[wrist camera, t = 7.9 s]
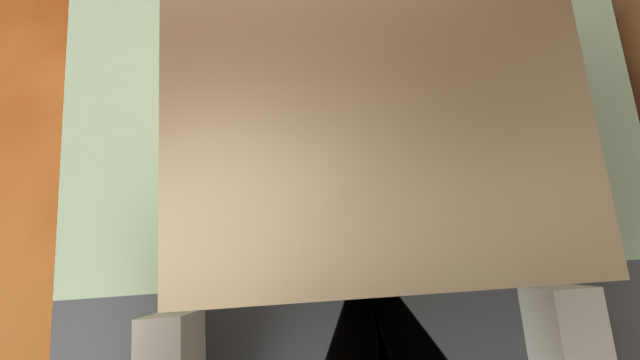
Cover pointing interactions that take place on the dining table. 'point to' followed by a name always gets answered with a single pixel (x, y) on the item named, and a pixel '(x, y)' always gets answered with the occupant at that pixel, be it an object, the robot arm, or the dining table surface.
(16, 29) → the dining table surface
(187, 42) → the maple block
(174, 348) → the platform
